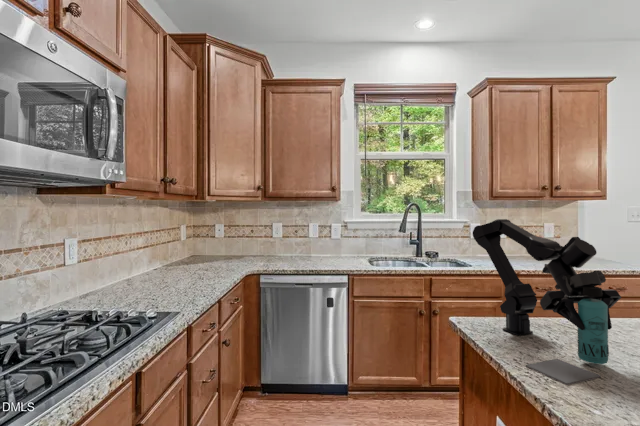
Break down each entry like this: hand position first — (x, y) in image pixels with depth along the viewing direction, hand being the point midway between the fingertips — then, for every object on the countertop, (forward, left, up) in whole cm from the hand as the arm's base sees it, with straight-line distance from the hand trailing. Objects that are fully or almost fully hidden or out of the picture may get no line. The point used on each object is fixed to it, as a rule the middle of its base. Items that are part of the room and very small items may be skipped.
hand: (596, 329), depth 93 cm
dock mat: (-1, -11, -10) cm, 14 cm away
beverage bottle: (-1, 0, -10) cm, 10 cm away
